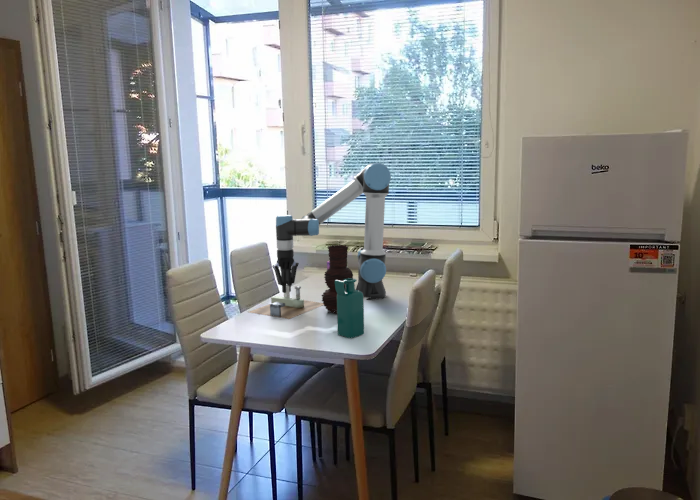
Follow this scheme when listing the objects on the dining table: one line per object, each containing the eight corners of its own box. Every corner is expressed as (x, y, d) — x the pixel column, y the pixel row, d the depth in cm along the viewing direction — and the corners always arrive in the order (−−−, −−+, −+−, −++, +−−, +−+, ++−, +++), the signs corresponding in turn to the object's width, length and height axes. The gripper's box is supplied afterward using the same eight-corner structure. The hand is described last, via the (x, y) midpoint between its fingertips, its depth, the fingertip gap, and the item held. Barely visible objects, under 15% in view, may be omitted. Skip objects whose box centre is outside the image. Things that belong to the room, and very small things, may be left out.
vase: (314, 315, 242) (312, 247, 237) (337, 307, 254) (336, 242, 249) (341, 321, 232) (339, 250, 228) (364, 313, 244) (363, 245, 239)
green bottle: (351, 329, 221) (350, 275, 218) (366, 334, 215) (365, 278, 211) (332, 335, 215) (331, 279, 211) (347, 340, 208) (346, 282, 205)
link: (306, 306, 252) (306, 299, 251) (299, 308, 247) (299, 302, 247) (276, 301, 261) (276, 295, 260) (269, 304, 256) (269, 297, 256)
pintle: (302, 299, 251) (302, 286, 250) (298, 300, 248) (298, 287, 248) (297, 298, 252) (297, 285, 251) (293, 299, 250) (293, 287, 249)
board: (327, 306, 256) (327, 303, 256) (289, 322, 233) (289, 319, 233) (287, 300, 268) (287, 297, 268) (247, 315, 245) (247, 312, 245)
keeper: (285, 314, 239) (285, 303, 238) (279, 316, 236) (279, 305, 235) (276, 313, 242) (275, 301, 241) (270, 315, 238) (269, 304, 238)
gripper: (292, 246, 261) (294, 295, 265) (268, 249, 253) (270, 300, 257) (301, 248, 256) (303, 298, 259) (277, 251, 248) (278, 303, 251)
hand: (286, 299), depth 258 cm, fingers closed
